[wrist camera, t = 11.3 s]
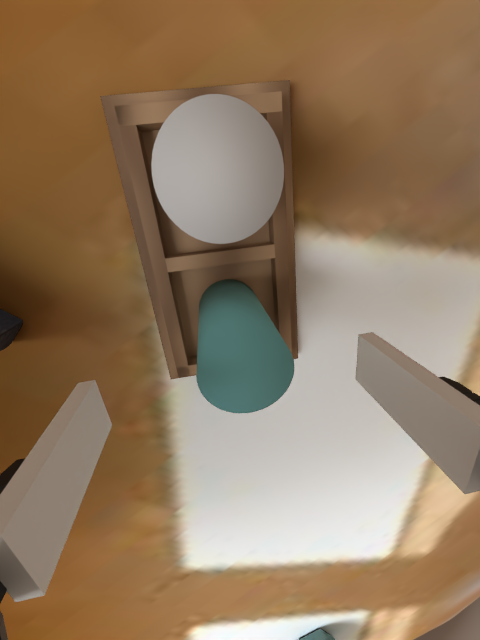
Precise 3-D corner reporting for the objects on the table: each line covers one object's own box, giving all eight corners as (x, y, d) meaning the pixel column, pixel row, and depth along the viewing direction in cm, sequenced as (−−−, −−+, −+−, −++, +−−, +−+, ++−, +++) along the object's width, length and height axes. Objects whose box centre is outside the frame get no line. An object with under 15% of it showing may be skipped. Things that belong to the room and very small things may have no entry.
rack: (172, 373, 26) (169, 389, 23) (105, 102, 18) (91, 85, 15) (294, 353, 27) (303, 366, 24) (285, 86, 18) (296, 69, 16)
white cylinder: (183, 232, 20) (167, 251, 11) (169, 155, 18) (135, 100, 9) (249, 224, 21) (286, 235, 11) (242, 148, 19) (280, 87, 9)
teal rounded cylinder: (204, 338, 24) (205, 420, 15) (194, 283, 22) (187, 337, 13) (260, 330, 24) (295, 404, 15) (255, 275, 22) (292, 321, 13)
